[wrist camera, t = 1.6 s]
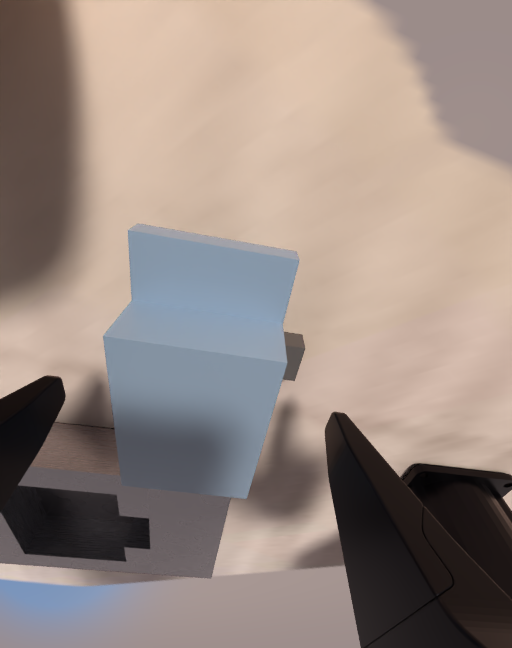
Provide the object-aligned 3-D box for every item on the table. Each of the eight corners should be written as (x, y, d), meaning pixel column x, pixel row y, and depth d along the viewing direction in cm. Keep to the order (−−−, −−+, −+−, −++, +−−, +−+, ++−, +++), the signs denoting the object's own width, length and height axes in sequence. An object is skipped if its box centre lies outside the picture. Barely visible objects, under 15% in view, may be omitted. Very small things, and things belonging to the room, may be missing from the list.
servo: (332, 236, 11) (381, 302, 6) (273, 425, 16) (278, 529, 12) (163, 206, 10) (92, 253, 6) (162, 411, 15) (124, 514, 11)
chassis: (236, 442, 17) (233, 486, 15) (215, 538, 23) (211, 578, 21) (-67, 408, 15) (-119, 451, 13) (-1, 519, 22) (-29, 560, 20)
